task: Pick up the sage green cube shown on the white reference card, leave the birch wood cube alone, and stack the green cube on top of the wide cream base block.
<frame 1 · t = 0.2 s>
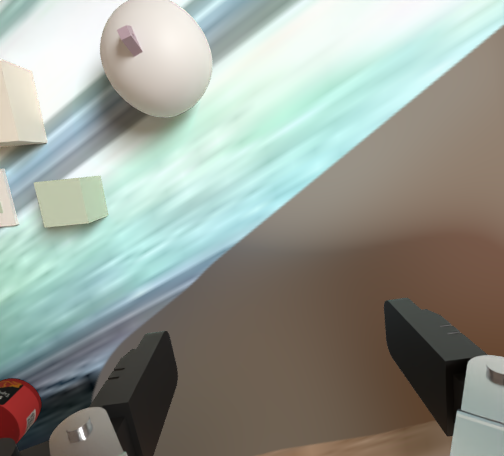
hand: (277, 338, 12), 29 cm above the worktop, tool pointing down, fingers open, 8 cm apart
sage cube: (85, 197, 40), on the worktop
base block: (8, 111, 37), on the worktop
ornament: (172, 75, 37), on the worktop
canned food: (18, 399, 46), on the worktop
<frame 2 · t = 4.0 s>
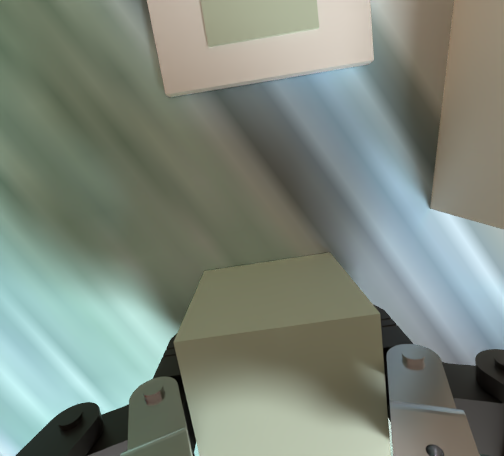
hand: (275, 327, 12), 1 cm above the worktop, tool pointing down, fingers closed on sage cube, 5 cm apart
sage cube: (275, 318, 13), on the worktop, touching gripper
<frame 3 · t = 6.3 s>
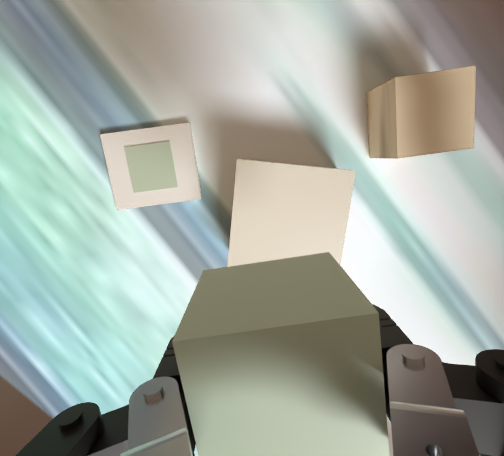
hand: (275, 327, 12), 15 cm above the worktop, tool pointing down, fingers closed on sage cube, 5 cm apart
sage cube: (274, 318, 13), point 14 cm above the worktop, touching gripper
birch cube: (399, 121, 25), on the worktop
base block: (282, 211, 27), on the worktop
reference card: (153, 167, 26), on the worktop
when the fingers open (7 cm above the worktop, at t = 8.9 s): sage cube drops 2 cm, resting on base block.
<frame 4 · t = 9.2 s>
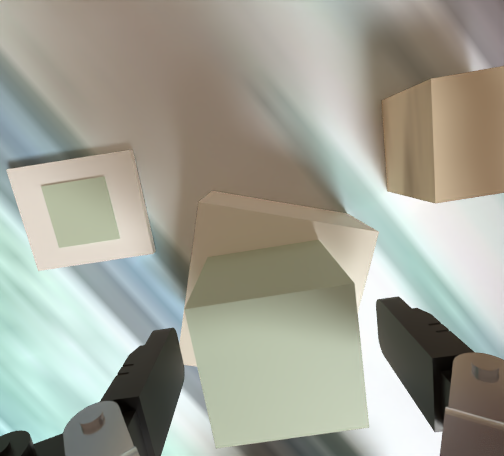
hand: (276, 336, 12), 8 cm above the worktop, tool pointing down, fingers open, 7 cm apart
sage cube: (271, 299, 15), point 5 cm above the worktop, touching base block
birch cube: (428, 140, 18), on the worktop
base block: (267, 265, 19), on the worktop, touching sage cube
reference card: (86, 211, 19), on the worktop
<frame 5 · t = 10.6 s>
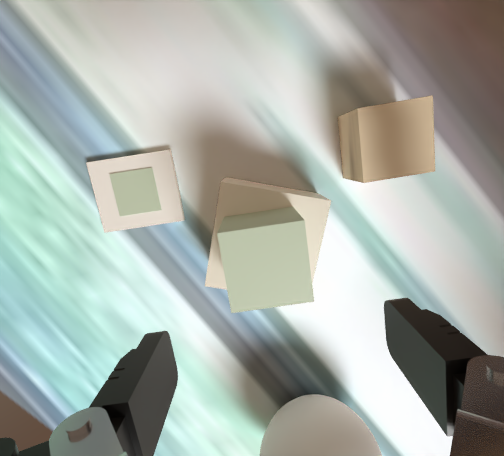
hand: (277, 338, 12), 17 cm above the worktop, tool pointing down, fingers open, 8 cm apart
sage cube: (263, 244, 23), point 5 cm above the worktop
birch cube: (370, 143, 26), on the worktop
base block: (263, 229, 28), on the worktop
reference card: (138, 191, 27), on the worktop
ornament: (309, 414, 32), on the worktop
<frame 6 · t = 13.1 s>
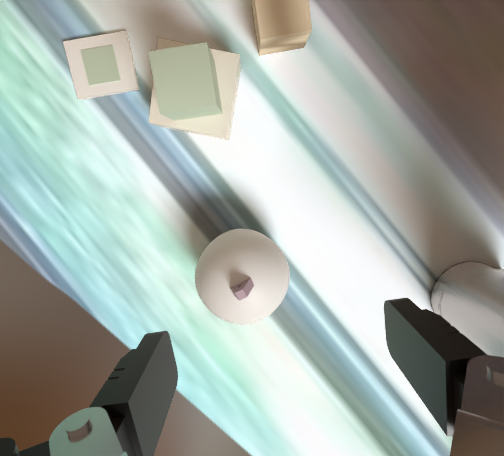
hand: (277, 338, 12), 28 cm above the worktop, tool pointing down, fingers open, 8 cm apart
sage cube: (194, 91, 32), point 5 cm above the worktop
birch cube: (278, 27, 35), on the worktop
base block: (200, 98, 36), on the worktop
reference card: (103, 66, 36), on the worktop
ornament: (243, 260, 41), on the worktop
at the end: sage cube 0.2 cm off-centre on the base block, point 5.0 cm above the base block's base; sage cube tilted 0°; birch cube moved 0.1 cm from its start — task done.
